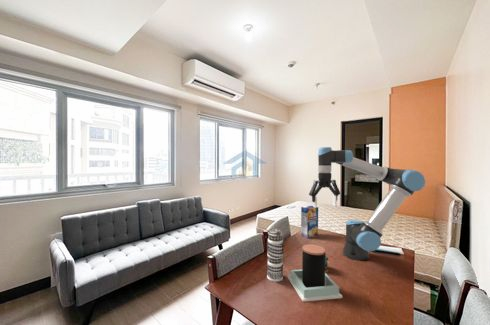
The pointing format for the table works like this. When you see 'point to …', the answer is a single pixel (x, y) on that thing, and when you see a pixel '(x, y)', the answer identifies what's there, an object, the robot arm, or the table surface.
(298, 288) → the pocket tray
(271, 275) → the decorative candle
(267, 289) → the table surface
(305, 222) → the juice carton
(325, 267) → the binoculars
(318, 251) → the coffee jar
